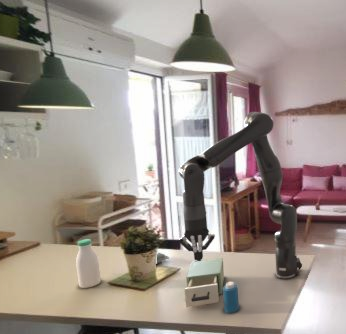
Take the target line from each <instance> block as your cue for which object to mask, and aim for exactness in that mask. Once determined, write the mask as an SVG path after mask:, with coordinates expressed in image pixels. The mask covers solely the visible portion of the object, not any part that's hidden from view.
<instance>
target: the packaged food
mask: <svg viewBox="0 0 346 334" xmlns="http://www.w3.org/2000/svg"><path fill="white" fill-rule="evenodd" d="M157 252H158V254H157V264H156V265H159V264H160V263H162V262H164V261H166V260H169V259H170V256H168V255H165V254H164V253H161V252H159V251H157Z"/></svg>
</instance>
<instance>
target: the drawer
mask: <svg viewBox="0 0 346 334" xmlns="http://www.w3.org/2000/svg"><path fill="white" fill-rule="evenodd" d="M218 288H219V280H218V275H216V276H208V277H201V278H193V279H190V282H189V285H188V287H187V286H186V287H184V296H185V307H186V308H190V307H197V306H203V305H209V304H210V305H211V304H217V303H219V302H220V299H219V294H218Z"/></svg>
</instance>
